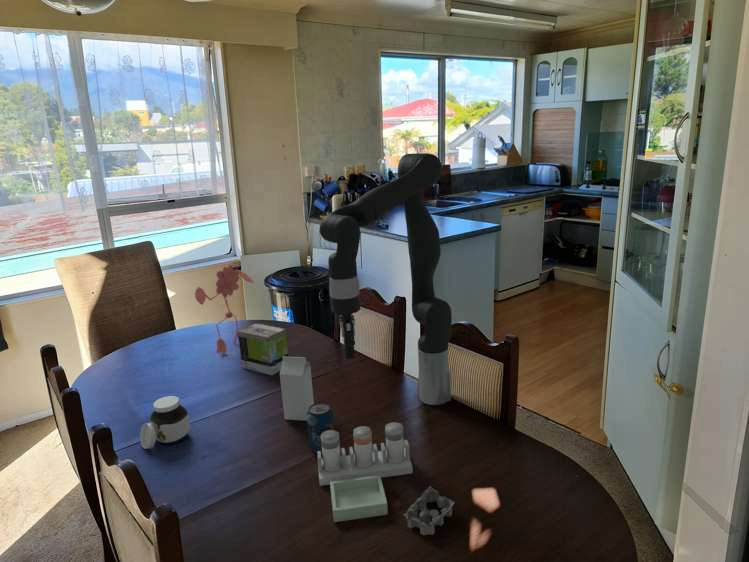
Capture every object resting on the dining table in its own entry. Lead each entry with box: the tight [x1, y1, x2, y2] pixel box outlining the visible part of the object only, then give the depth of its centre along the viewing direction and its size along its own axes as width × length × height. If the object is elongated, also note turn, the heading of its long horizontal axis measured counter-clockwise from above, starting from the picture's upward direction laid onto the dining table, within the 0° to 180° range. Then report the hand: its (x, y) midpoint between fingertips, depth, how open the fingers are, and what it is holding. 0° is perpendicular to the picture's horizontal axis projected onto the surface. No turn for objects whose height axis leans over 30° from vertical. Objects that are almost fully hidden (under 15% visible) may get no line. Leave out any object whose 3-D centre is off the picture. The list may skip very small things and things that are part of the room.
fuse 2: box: [384, 421, 405, 464], centre depth 133 cm, size 5×5×9 cm
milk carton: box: [279, 356, 315, 422], centre depth 158 cm, size 7×7×19 cm
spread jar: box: [139, 395, 191, 450], centre depth 149 cm, size 12×11×12 cm
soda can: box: [306, 402, 335, 455], centre depth 142 cm, size 7×7×12 cm
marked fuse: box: [352, 425, 373, 468], centre depth 132 cm, size 5×5×9 cm
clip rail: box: [316, 439, 414, 487], centre depth 133 cm, size 23×8×6 cm, turn 98°
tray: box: [329, 475, 389, 523], centre depth 121 cm, size 12×10×3 cm
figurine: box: [194, 263, 254, 359], centre depth 205 cm, size 15×26×35 cm, turn 148°
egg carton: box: [403, 485, 455, 536], centre depth 116 cm, size 11×8×4 cm
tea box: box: [237, 322, 289, 376], centre depth 193 cm, size 15×10×15 cm
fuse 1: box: [321, 429, 342, 473], centre depth 131 cm, size 5×5×9 cm
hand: (349, 351), depth 139 cm, fingers open, 8 cm apart
